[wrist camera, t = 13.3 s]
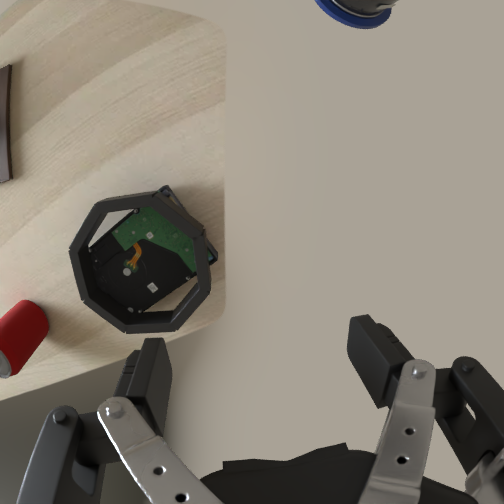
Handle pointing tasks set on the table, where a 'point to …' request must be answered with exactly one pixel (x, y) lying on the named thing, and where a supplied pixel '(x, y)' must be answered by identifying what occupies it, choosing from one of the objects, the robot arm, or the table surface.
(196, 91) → the table surface
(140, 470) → the robot arm
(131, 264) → the disk drive
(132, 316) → the ring
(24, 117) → the table surface
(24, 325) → the beverage can
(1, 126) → the stand
